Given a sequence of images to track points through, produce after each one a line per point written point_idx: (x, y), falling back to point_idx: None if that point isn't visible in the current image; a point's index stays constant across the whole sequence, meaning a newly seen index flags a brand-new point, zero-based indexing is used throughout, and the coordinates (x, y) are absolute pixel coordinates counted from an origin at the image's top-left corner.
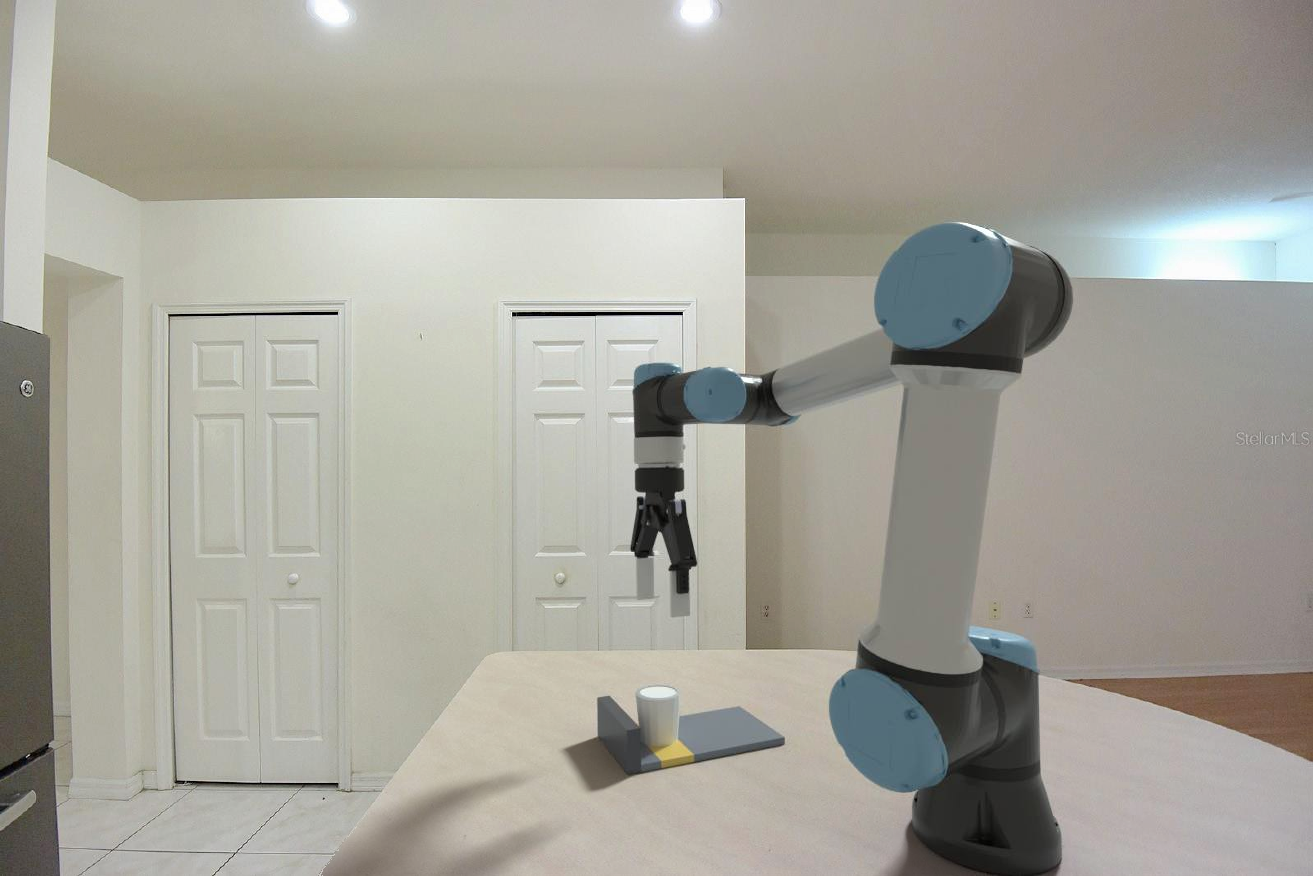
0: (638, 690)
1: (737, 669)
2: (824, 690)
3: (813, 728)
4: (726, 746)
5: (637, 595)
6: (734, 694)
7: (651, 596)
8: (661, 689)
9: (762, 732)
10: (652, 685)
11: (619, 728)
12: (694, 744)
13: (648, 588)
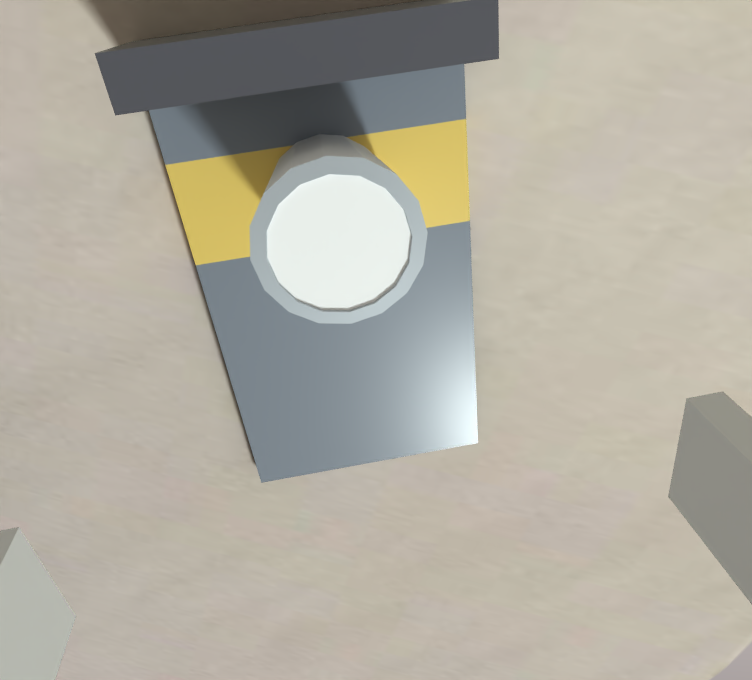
0: (379, 174)
1: None
2: (518, 604)
3: (330, 538)
4: (233, 355)
5: (725, 415)
6: (588, 449)
7: (679, 493)
8: (368, 264)
9: (300, 449)
10: (419, 241)
11: (191, 38)
12: None
13: (725, 525)
